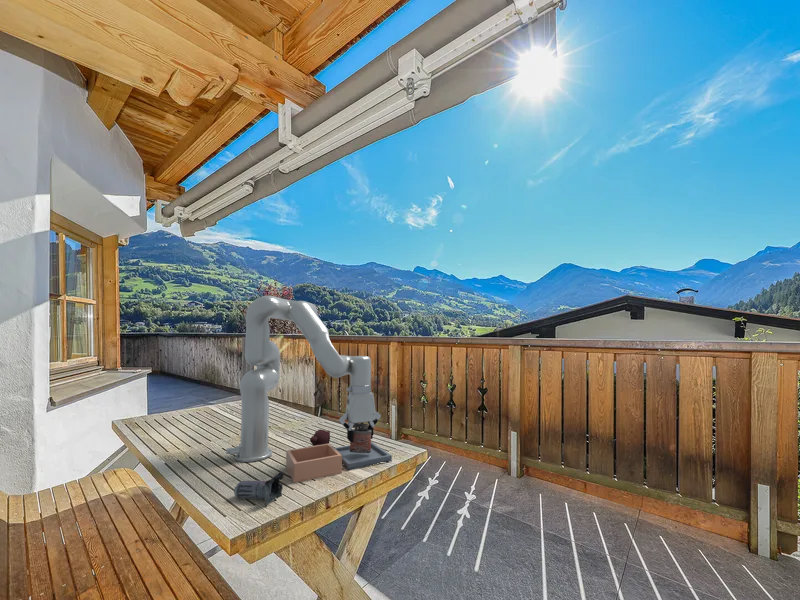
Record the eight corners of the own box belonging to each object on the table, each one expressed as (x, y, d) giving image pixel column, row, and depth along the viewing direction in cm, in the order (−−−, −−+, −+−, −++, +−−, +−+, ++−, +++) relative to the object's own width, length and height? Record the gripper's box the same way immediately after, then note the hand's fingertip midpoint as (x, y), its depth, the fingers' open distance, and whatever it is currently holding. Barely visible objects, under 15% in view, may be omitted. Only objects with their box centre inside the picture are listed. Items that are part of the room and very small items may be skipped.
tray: (348, 470, 112) (348, 464, 112) (332, 453, 128) (332, 448, 128) (391, 461, 119) (391, 455, 120) (371, 446, 135) (371, 441, 135)
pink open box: (294, 482, 103) (294, 463, 103) (286, 467, 115) (286, 450, 116) (341, 472, 110) (341, 455, 110) (329, 459, 122) (329, 443, 123)
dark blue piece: (283, 500, 95) (244, 499, 97) (285, 470, 97) (247, 470, 99) (265, 510, 87) (223, 509, 88) (268, 476, 89) (226, 476, 91)
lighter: (372, 450, 125) (372, 422, 126) (369, 453, 121) (370, 424, 122) (351, 449, 126) (351, 421, 127) (348, 452, 123) (348, 423, 124)
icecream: (319, 425, 145) (301, 438, 130) (335, 421, 143) (318, 435, 128) (324, 441, 144) (306, 456, 130) (339, 437, 143) (323, 453, 128)
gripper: (341, 393, 119) (340, 446, 117) (386, 389, 127) (386, 438, 125) (334, 390, 125) (334, 440, 123) (377, 386, 133) (377, 433, 132)
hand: (360, 439), depth 124 cm, fingers closed on lighter, 7 cm apart
